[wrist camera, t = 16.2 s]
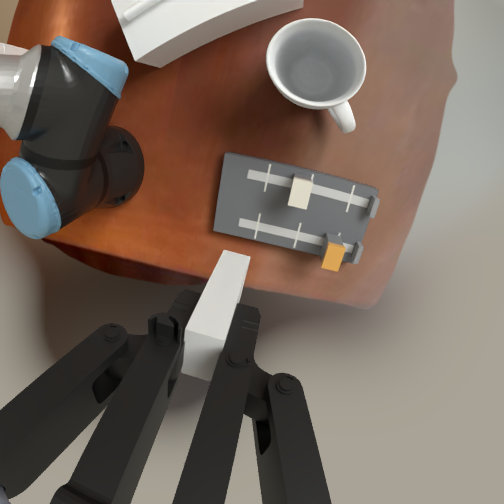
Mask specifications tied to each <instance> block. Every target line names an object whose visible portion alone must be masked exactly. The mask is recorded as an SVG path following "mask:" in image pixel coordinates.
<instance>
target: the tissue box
mask: <svg viewBox="0 0 504 504" xmlns="http://www.w3.org/2000/svg"><path fill="white" fill-rule="evenodd" d="M111 1H112V4H113V7H114V9H115V12H116V15H117V17H118V20H119V22H120V25H121V27H122V30H123V33H124V35H125V38H126V40H127V43H128V45H129V48H130V50H131V53H132V55H133V58H134V60H135V61H136V62H140V63H144V64H148V65H151V66H155V67H159V68H161V67H163V66H165V65H166V64H168V63H170V62H172V61H173V60H175V59H177V58H179V57H181V56H183V55H185V54H186V53H188V52H190V51H192V50H194V49H196V48H198V47H200V46H202V45H204V44H206V43H209V42H211V41H213V40H215V39H217V38H219V37H222V36H224V35H226V34H229V33H231V32H233V31H236V30H238V29H241V28H243V27H246V26H248V25H251V24H254V23H256V22H259V21H262V20H265V19H268V18H271V17H274V16H277V15H280V14H283V13H286V12H290V11H293V10H297V9H300V8H303V0H111Z"/></svg>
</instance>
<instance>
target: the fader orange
mask: <svg viewBox="0 0 504 504" xmlns="http://www.w3.org/2000/svg"><path fill="white" fill-rule="evenodd" d="M345 250H346V248H345V246H344V245H343V242H342V239H341V236H338V235H335V234H331V233H327V232H326V235H325V239H324V242H323V245H322V248H321V251H320V255H321V268H324V269H329V270H333V271H337V272H338V270H339V267H340V264H341V261H342V259H343V256H344V253H345Z"/></svg>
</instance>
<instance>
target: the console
mask: <svg viewBox="0 0 504 504" xmlns="http://www.w3.org/2000/svg"><path fill="white" fill-rule="evenodd" d="M295 173H299V174H303V175H307V176H311V180H312V181H313V186H312V190H311V194H310V198H309V202H308V206H307V209H302V208H297V207H293V206H289V205H288V201H289V197H290V192H291V188H292V183H293V179H294V175H295ZM378 191H379V190H378V189H376V188H375V187H372V186H369V185H366V184H362V183H359V182H355V181H352V180H349V179H345V178H341V177H338V176H334V175H330V174H327V173H323V172H319V171H315V170H311V169H307V168H303V167H299V166H295V165H291V164H286V163H282V162H277V161H273V160H268V159H263V158H259V157H254V156H249V155H243V154H238V153H233V152H226V153H225V157H224V163H223V169H222V175H221V181H220V188H219V194H218V201H217V208H216V215H215V222H214V229H213V231H217V232H221V233H226V234H230V235H234V236H239V237H243V238H247V239H252V240H256V241H260V242H265V243H269V244H273V245H277V246H282V247H286V248H290V249H294V250H298V251H303V252H307V253H311V254H315V255H319V256H321V255H320V251H321V248H322V245H323V242H324V239H325V235H326V232H327V233H331V234H335V235H338V236H341V239H342V242H343V245H344V246H345V248H346V250H345V253H344V256H343V259H342V261H344V262H348V263H352V264H358V262H359V259H360V257H361V254H362V251H363V249H364V247H363V245H362V243H361V242H362V240H363V237H364V234H365V231H366V228H367V225H368V222H369V219H370V217H371V218H374V217H375V214H376V211H377V208H378V205H379V202H380V199H379V198H378V197H377V194H378Z"/></svg>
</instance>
